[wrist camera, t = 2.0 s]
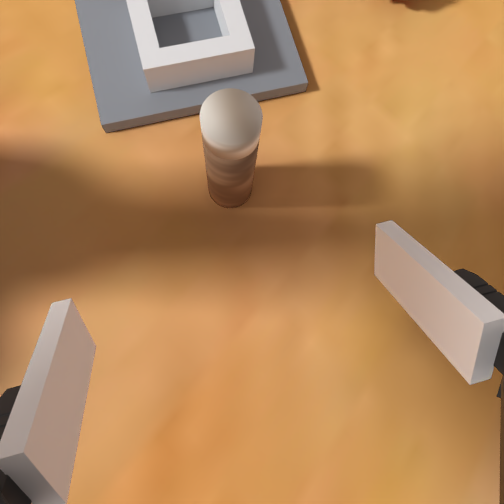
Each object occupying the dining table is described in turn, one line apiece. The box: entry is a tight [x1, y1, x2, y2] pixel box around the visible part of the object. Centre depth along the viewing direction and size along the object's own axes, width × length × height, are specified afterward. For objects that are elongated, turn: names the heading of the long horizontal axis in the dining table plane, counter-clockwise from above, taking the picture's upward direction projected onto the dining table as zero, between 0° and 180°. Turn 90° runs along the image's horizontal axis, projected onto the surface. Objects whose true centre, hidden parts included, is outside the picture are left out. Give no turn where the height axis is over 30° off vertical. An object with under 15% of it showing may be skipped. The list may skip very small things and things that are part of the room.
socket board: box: [75, 0, 308, 133], centre depth 41 cm, size 22×16×5 cm
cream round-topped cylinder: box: [200, 88, 263, 208], centre depth 33 cm, size 4×4×13 cm
